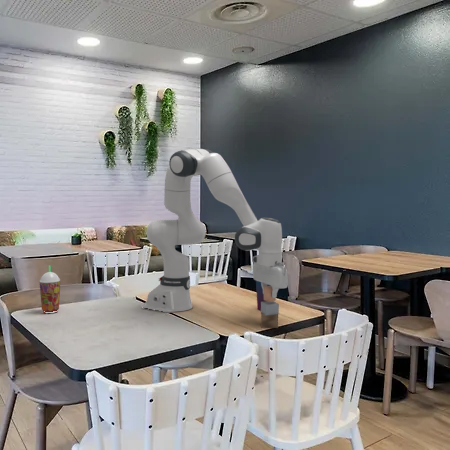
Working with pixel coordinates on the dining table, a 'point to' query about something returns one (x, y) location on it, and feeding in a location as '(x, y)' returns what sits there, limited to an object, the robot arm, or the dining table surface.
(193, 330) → the dining table surface
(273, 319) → the tower base
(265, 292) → the orange brown block
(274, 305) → the tower top block
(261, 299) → the cup
